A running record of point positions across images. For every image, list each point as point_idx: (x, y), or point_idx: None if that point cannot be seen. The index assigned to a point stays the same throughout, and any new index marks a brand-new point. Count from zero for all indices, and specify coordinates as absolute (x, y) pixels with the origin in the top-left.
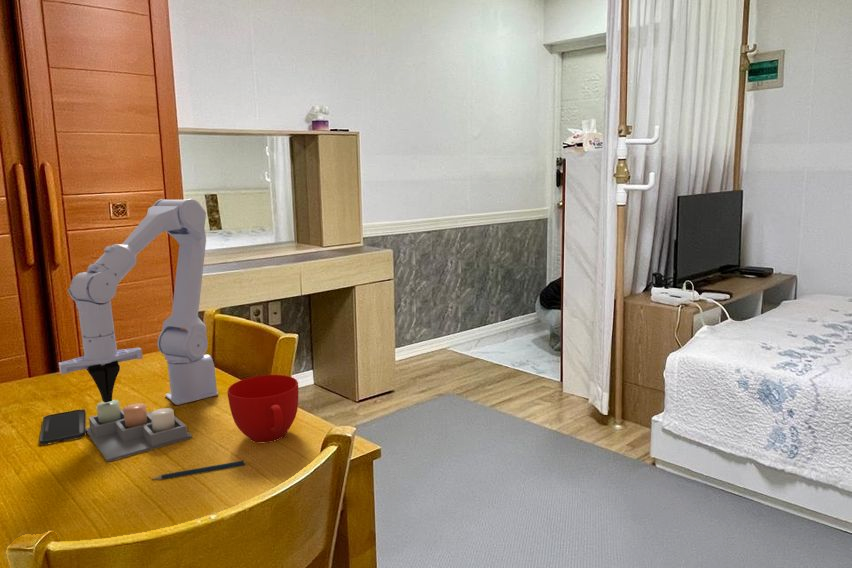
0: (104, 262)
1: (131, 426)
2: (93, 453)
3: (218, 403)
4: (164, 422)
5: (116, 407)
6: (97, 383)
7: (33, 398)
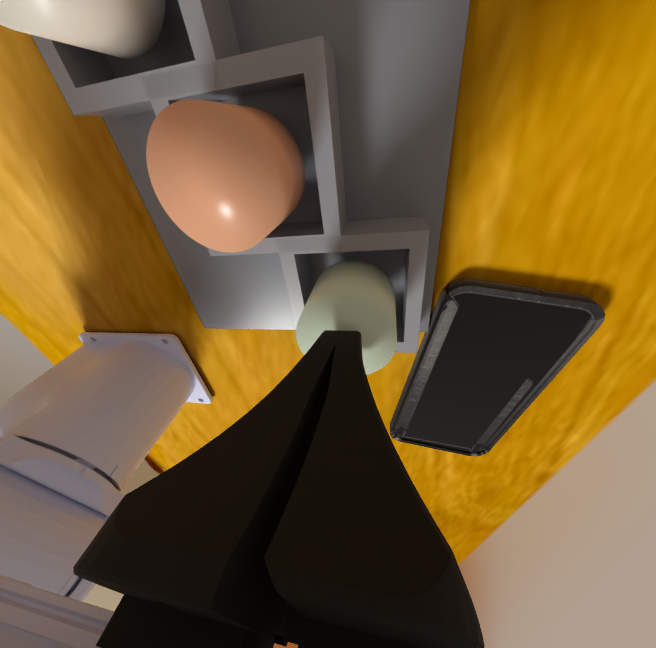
0: None
1: (275, 119)
2: (502, 9)
3: (60, 279)
4: None
5: (314, 297)
6: (387, 438)
7: (449, 521)
